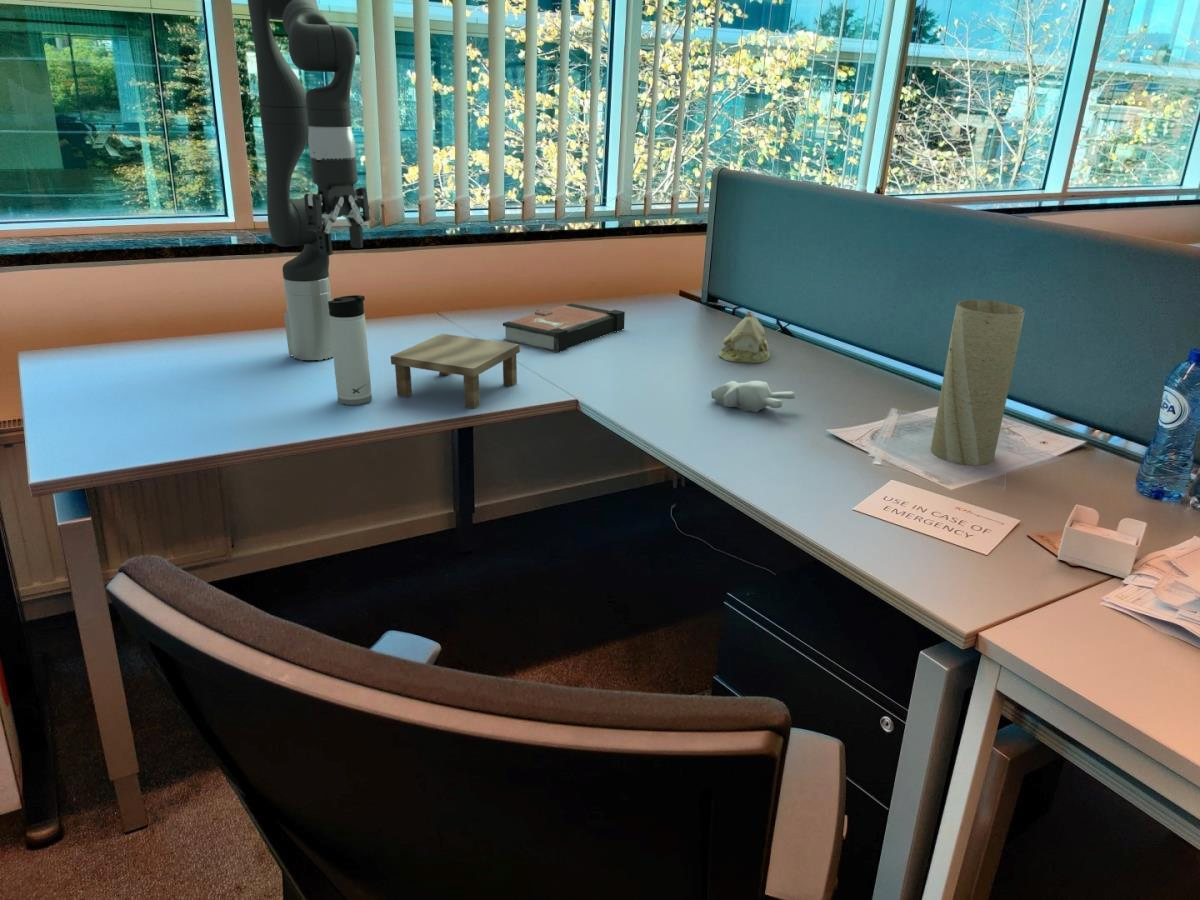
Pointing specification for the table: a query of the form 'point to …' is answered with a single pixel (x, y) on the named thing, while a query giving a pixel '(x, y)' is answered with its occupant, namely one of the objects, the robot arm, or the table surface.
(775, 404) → the bunny figurine
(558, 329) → the book
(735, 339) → the ceramic model
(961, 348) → the tube
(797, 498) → the table surface
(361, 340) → the travel mug
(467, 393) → the footstool
